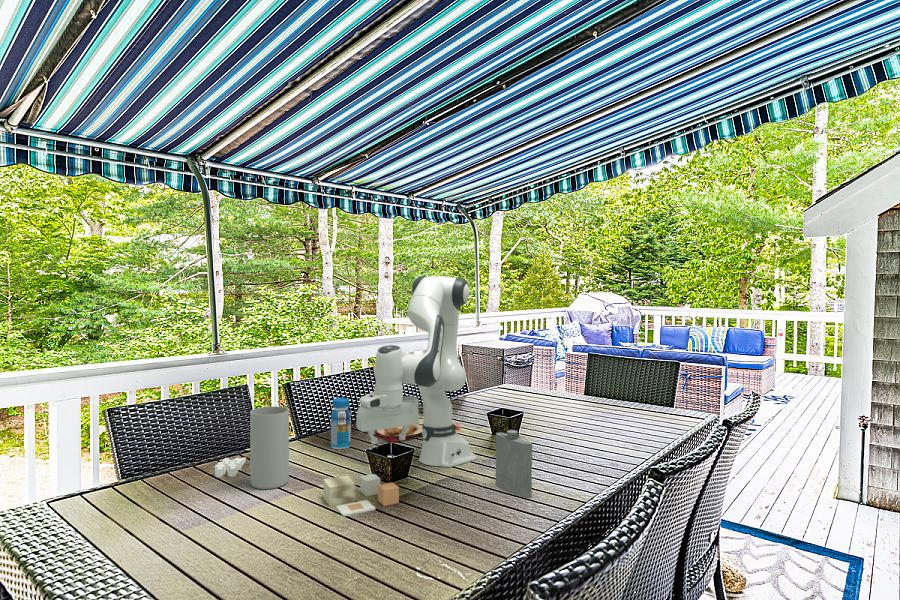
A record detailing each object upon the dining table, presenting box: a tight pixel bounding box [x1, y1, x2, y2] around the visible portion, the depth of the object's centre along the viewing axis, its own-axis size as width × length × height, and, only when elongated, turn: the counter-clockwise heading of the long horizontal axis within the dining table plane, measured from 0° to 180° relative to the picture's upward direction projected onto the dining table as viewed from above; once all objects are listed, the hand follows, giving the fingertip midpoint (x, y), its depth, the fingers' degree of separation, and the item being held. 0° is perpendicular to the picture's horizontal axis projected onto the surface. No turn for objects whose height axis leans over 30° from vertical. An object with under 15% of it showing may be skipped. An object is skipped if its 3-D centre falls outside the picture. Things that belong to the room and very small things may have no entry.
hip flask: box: [495, 429, 533, 499], centre depth 185 cm, size 16×4×20 cm, turn 37°
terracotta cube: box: [377, 481, 400, 507], centre depth 174 cm, size 5×5×5 cm
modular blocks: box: [214, 457, 247, 478], centre depth 205 cm, size 20×7×4 cm, turn 6°
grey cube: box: [359, 473, 381, 497], centre depth 182 cm, size 5×5×5 cm
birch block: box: [322, 475, 356, 507], centre depth 176 cm, size 8×8×6 cm
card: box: [335, 499, 376, 517], centre depth 168 cm, size 10×7×1 cm
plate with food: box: [366, 423, 423, 443], centre depth 254 cm, size 25×26×4 cm
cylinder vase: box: [249, 406, 290, 490], centre depth 189 cm, size 12×12×25 cm
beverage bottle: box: [330, 397, 352, 450], centre depth 232 cm, size 8×8×20 cm
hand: (388, 441), depth 174 cm, fingers open, 8 cm apart
